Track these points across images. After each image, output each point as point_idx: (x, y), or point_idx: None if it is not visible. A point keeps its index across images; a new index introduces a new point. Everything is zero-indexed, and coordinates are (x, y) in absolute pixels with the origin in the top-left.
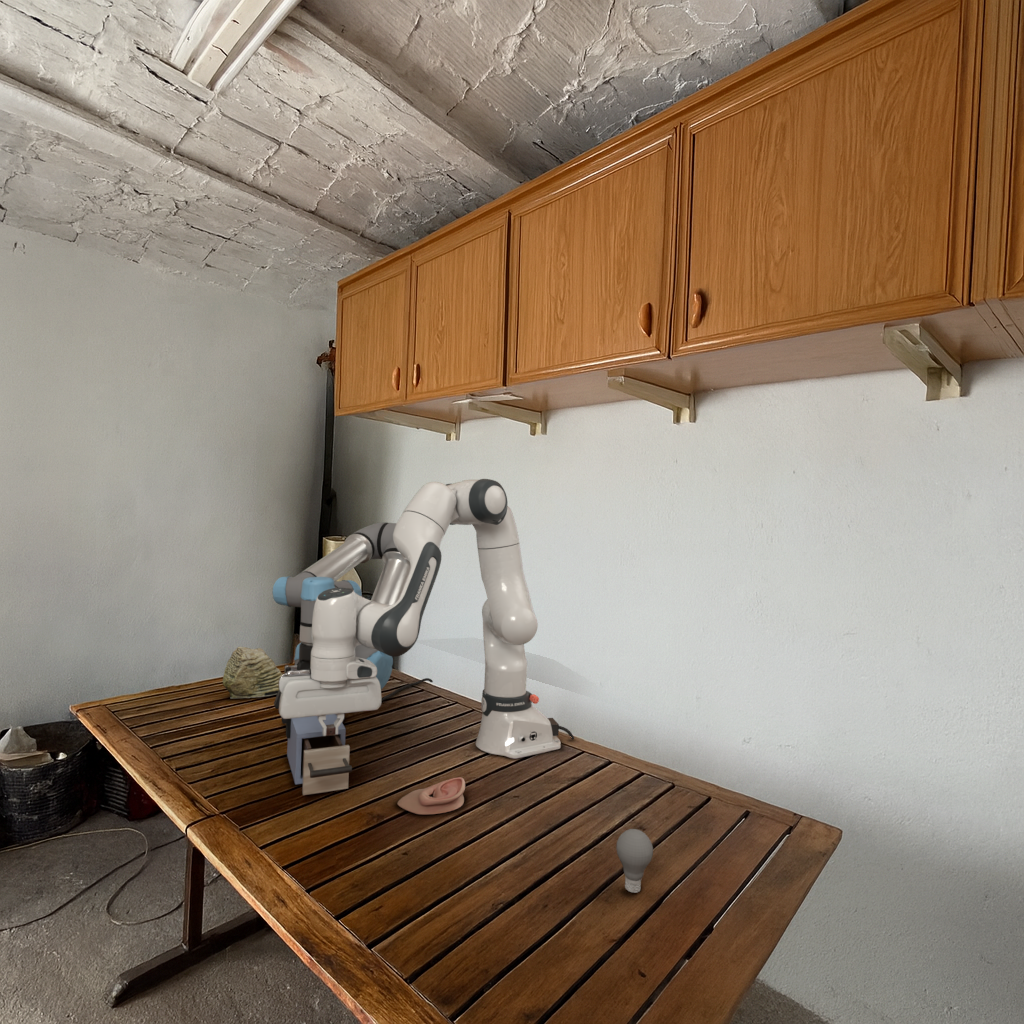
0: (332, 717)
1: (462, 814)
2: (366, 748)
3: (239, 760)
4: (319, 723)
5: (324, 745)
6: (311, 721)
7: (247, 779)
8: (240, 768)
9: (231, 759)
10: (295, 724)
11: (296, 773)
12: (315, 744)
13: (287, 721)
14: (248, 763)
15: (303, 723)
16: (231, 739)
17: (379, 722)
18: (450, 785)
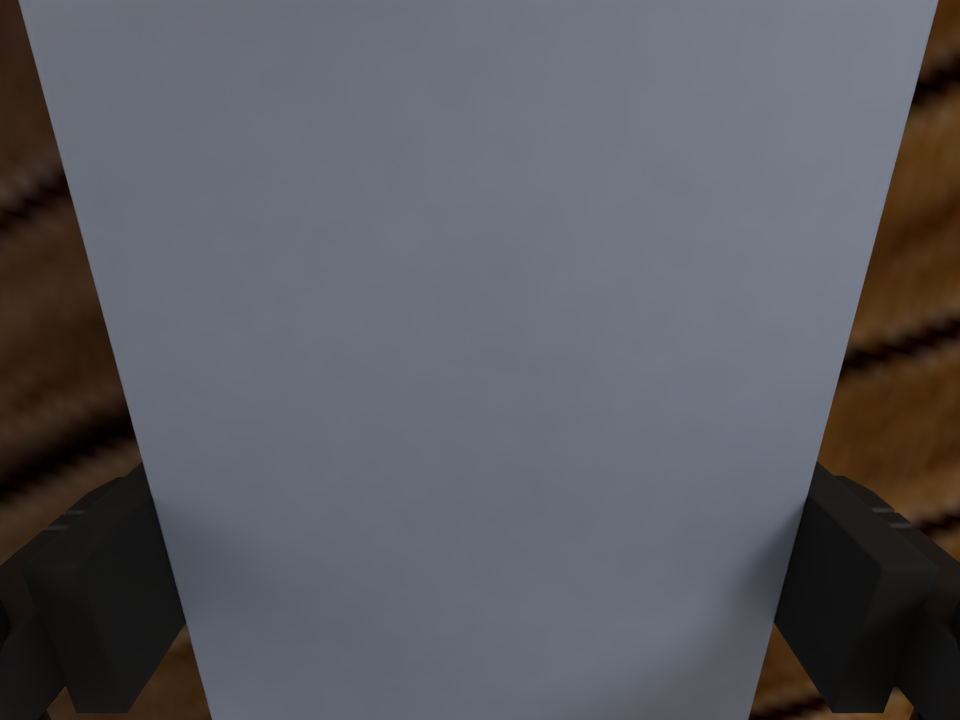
0: (207, 306)
1: None
2: (125, 404)
3: (873, 459)
4: (452, 44)
5: None
6: (572, 215)
7: (924, 160)
8: (905, 348)
9: (907, 485)
10: (872, 136)
11: None
12: None
13: (818, 470)
14: (841, 404)
15: (726, 150)
16: (826, 709)
17: (59, 715)
18: None
